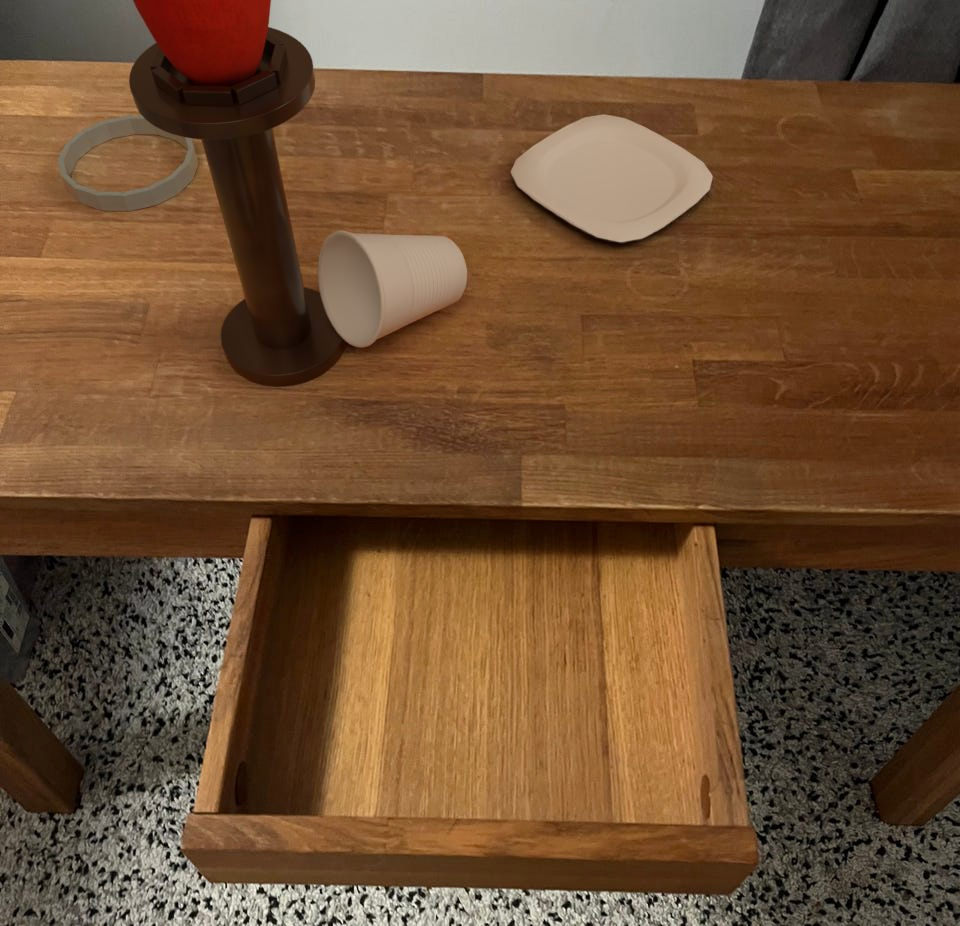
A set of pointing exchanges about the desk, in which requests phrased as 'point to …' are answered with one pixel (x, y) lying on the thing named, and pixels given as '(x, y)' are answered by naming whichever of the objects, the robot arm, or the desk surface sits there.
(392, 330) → the cup
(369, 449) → the desk surface
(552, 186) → the plate
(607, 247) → the desk surface
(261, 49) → the apple
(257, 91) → the holder
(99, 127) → the grey faceted ring
